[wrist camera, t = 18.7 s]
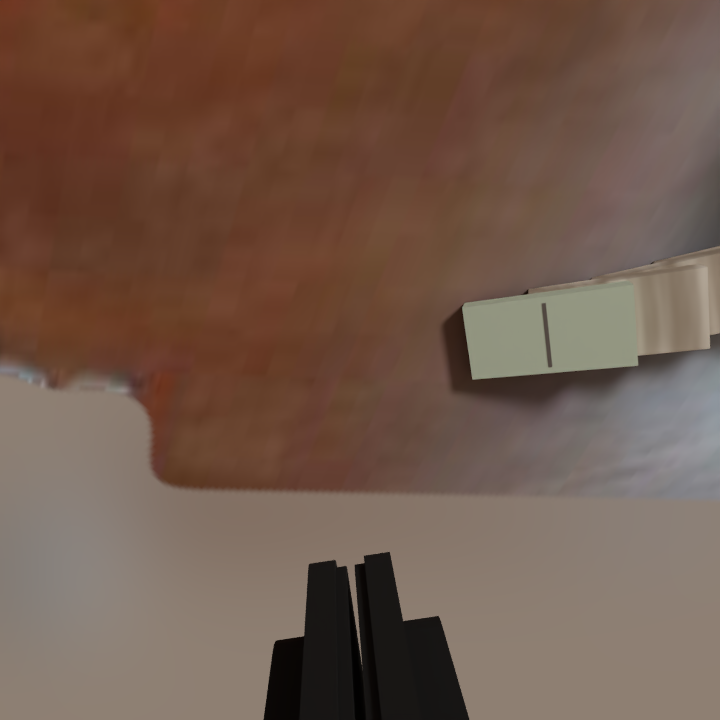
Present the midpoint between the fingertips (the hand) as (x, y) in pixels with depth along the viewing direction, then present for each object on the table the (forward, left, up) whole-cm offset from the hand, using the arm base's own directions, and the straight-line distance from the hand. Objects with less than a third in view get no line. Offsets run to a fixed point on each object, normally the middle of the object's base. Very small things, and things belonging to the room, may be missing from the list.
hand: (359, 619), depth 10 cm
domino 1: (+9, 0, -24) cm, 26 cm away
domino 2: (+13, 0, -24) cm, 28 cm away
